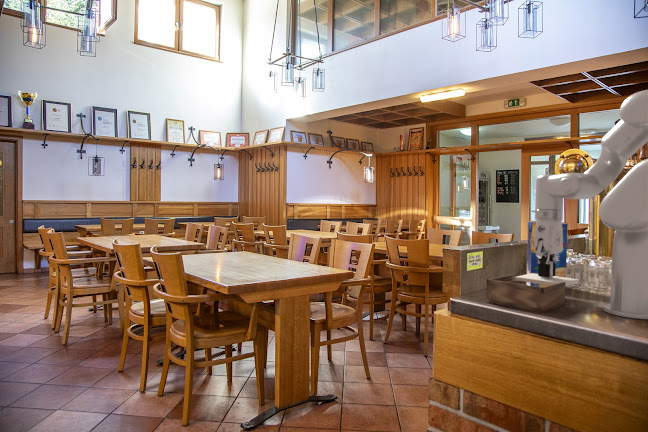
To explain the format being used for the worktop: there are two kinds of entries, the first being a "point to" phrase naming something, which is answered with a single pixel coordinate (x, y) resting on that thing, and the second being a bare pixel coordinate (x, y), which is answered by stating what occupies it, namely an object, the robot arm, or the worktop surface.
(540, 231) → the robot arm
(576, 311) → the worktop surface
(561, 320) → the worktop surface
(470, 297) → the worktop surface
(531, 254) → the beverage box
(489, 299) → the walnut box
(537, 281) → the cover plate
